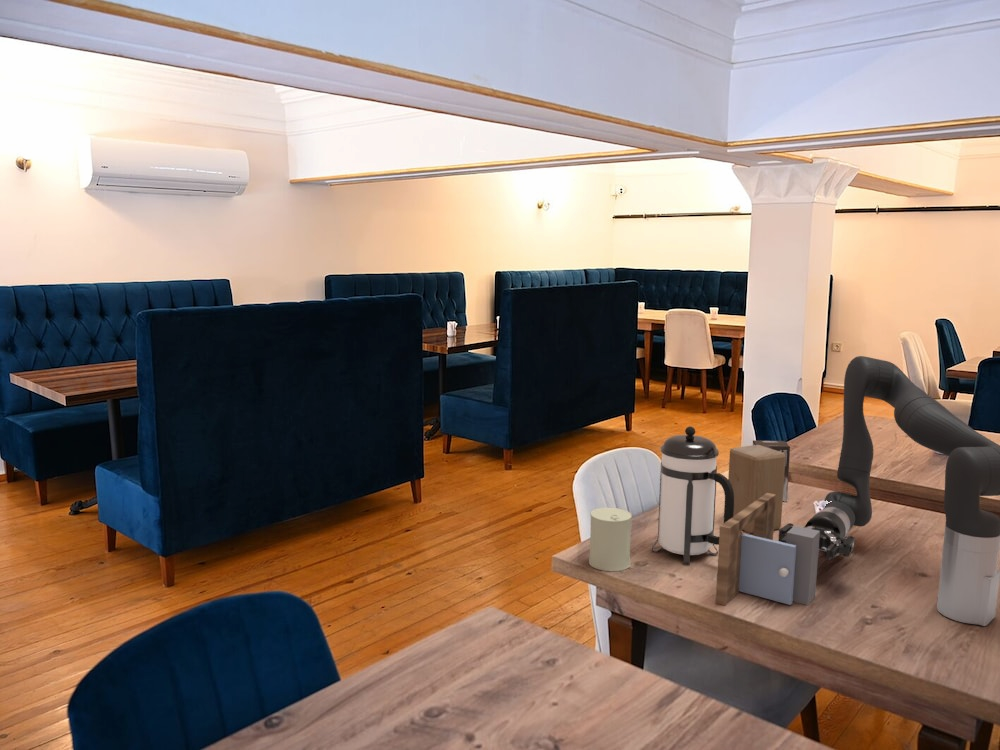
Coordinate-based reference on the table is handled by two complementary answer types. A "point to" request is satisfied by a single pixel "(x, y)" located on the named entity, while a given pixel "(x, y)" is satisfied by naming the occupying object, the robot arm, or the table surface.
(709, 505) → the coffee press
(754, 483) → the wooden block
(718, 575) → the door frame
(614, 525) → the can
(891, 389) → the robot arm
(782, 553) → the door
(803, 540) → the grey rectangular block
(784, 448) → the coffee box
